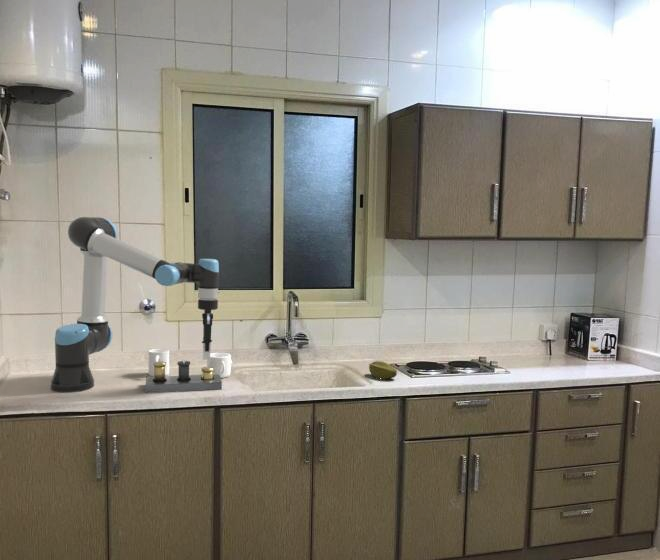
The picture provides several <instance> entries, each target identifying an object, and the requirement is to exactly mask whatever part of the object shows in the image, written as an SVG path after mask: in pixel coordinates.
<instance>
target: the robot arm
mask: <svg viewBox="0 0 660 560" xmlns="http://www.w3.org/2000/svg"><path fill="white" fill-rule="evenodd" d="M67 235H68V239H69V240H70V242H71V243H72V244H73V245H75V246H76V247H78V248H80V249H79V251H80V253H82V255H83V269H82V270H83V271H82V293H81V296H82V297H81V315H80V316H79V317H78V318H77V319H76V323H71V324H66V325H65V324H64V325H62V326H59V327H58V328H57V329H56V330H55V333H54V343H55V344H54V349H55V350H54V352H55V353H54V354H55V357H54V358H55V370H54V372H53V375H52V379H51V381H50V390H52V392H53V391H54V392H60V393H73V392H81V391H86V390H89V389H92V388H94V386H95V379H94V376H93V374H92V371H91V369H90V364H89V363H90V355H93V354H95V353H99V352H101V351H103V350H104V349H106V348H107V347H108V346H109V345H110V344H111V342H112V339H113V331H112V328H111V327H110V325H109V319H108V317H106V316H105V310H106V308H105V307H106V293H107V292H106V290H107V272H108V271H107V269H108V267H107V266H108V258H109V259H111V260H113V261H115V262H118V263H119V264H122V265H124V266H126V267H127V268H128V267H129V268H131V269H133V270H135V271H137V272H139V273H142V274H144V275H145V276H147V277H150V278H153V279H154V280H156V282H157V283H158V284H159V285H160V286H164V287H165V286H166V287H171V286H175V285H178V284H184V283H189V284H190V283H191V284H192V283H194V284H198V287H197V288H198V289H197V298H198V300H197V309H199V310H202V311H203V313H202V315H201V316H202V325H203V330H202V331H203V337H202V340H201V344H203V345H202V360H204V361H205V360H207V359H210V354H211V343H212V342H213V340H212V326H213V319H214V313H212V311H215V310H218V308H219V305H218V303H219V301H218V299H219V298H218V297H219V293H220V290H219V276H220V275H219V274H220V273H219V272H220V270H219V269H220V266H219V261H218V259H214V258H200V259H199V260H198V263H191V262H190V263H187V262H181V261H180V262H176V261H175V262H168V261H165V260H163V259H162V258H160V257H158V256H155V255H153V254H151V253H148V252H146V251H145V250H142V249H140V248H137V247H135V246H134V245H132V244H129V243H127V242H125V241H122V240H121V239H119V238H118V235H119V234H118V229H117V227H116V225H115V224H114V223H113V222H112V221H111V220H109V219H107V218H103V217H99V216H97V217H92V216H91V217H87V216H82V217H77V218H75V219H74V220H73V221H71V223H70V224H69V226H68V229H67Z"/></svg>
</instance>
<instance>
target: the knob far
mask: <svg viewBox="0 0 660 560" xmlns="http://www.w3.org/2000/svg"><path fill="white" fill-rule="evenodd" d="M213 371H214V368H213V367H207V366H204V367H201V372H202V374H201V375H202V380H213Z"/></svg>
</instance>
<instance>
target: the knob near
mask: <svg viewBox="0 0 660 560" xmlns="http://www.w3.org/2000/svg"><path fill="white" fill-rule="evenodd" d="M165 365H166V362H154V363H153V366H154V381H156V382H162V381H165Z"/></svg>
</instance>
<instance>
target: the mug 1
mask: <svg viewBox="0 0 660 560" xmlns="http://www.w3.org/2000/svg"><path fill="white" fill-rule="evenodd" d="M154 362H166V365H165V376H169V374H170V349H168V348H153V349H149V350H148V375H149V377H154V366H153V363H154Z"/></svg>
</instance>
